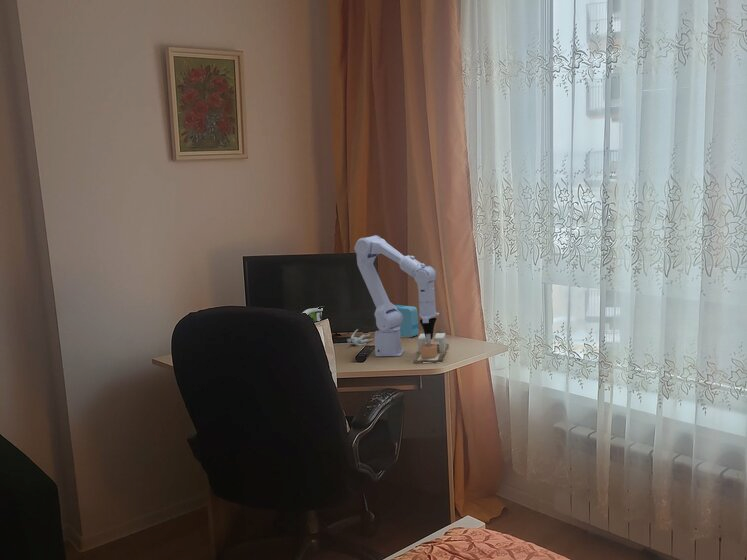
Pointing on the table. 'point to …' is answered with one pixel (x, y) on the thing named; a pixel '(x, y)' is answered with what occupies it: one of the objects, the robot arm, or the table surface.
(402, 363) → the table surface
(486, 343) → the table surface
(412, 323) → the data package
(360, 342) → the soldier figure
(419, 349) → the grey tunnel
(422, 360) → the walnut board
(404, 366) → the table surface
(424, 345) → the sled block
